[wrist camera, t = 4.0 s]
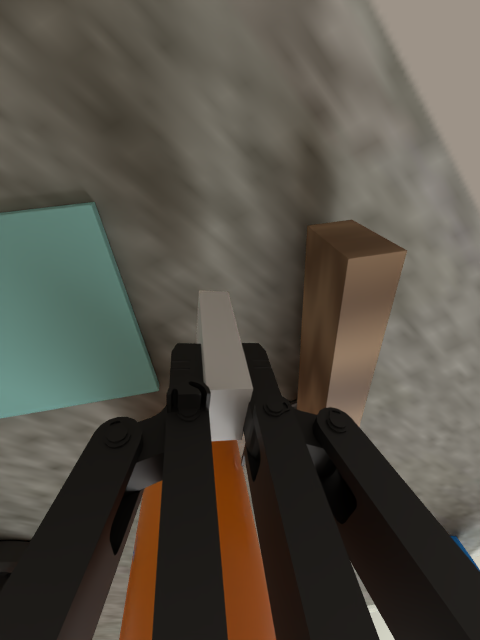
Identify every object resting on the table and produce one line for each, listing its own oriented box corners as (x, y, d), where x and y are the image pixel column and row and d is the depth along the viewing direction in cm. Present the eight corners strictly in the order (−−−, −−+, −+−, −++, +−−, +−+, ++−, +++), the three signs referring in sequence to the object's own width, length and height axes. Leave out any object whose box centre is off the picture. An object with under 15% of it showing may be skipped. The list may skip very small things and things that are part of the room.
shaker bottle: (197, 381, 22) (231, 1166, 5) (262, 427, 26) (388, 920, 10) (118, 436, 24) (-30, 1113, 7) (192, 470, 28) (199, 931, 12)
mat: (-25, 416, 20) (-31, 423, 20) (-204, 236, 13) (-220, 240, 12) (159, 384, 21) (158, 391, 21) (94, 201, 14) (90, 204, 13)
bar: (331, 442, 27) (362, 510, 22) (282, 452, 26) (302, 523, 22) (373, 216, 15) (461, 259, 10) (284, 228, 14) (332, 278, 10)
